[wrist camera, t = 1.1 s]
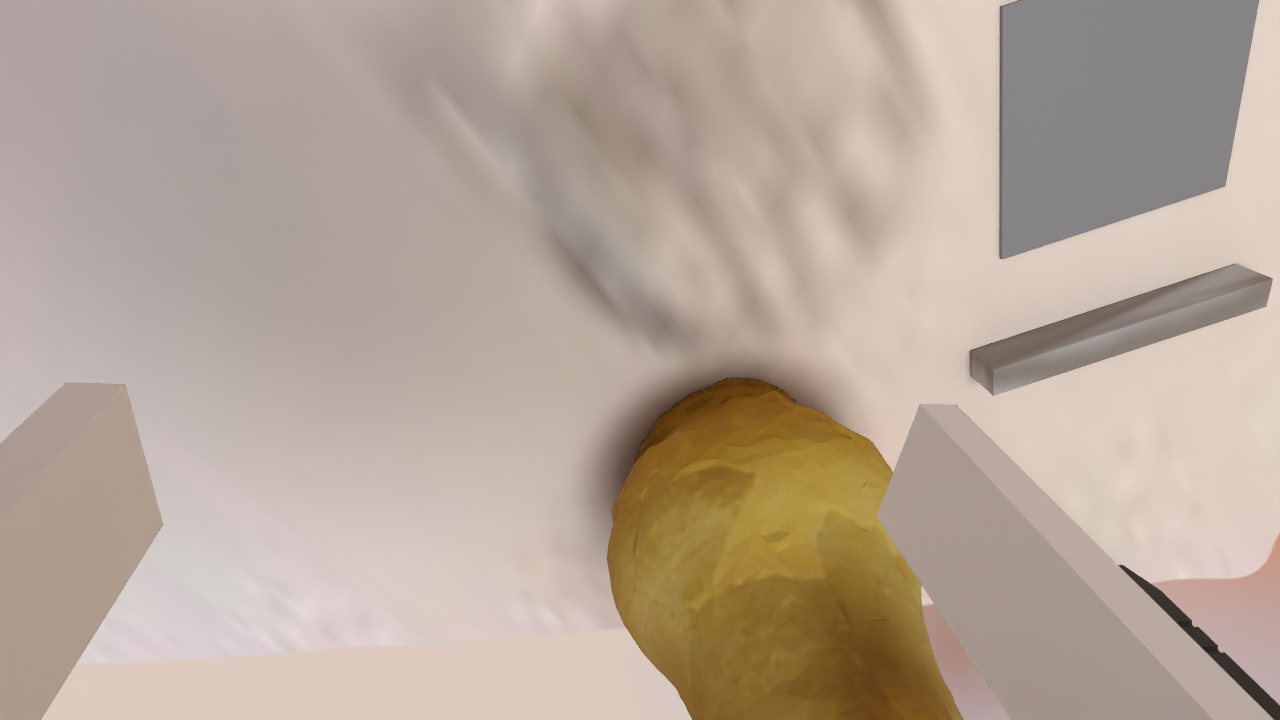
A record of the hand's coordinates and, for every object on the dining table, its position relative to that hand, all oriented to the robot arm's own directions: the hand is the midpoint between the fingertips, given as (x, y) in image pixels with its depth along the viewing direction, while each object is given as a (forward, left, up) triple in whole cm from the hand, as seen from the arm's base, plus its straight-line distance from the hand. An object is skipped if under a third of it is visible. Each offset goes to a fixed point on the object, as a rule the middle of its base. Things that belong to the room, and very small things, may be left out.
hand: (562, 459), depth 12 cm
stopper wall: (+22, +31, -25) cm, 46 cm away
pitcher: (+24, +4, -26) cm, 35 cm away
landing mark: (+8, +31, -25) cm, 41 cm away
